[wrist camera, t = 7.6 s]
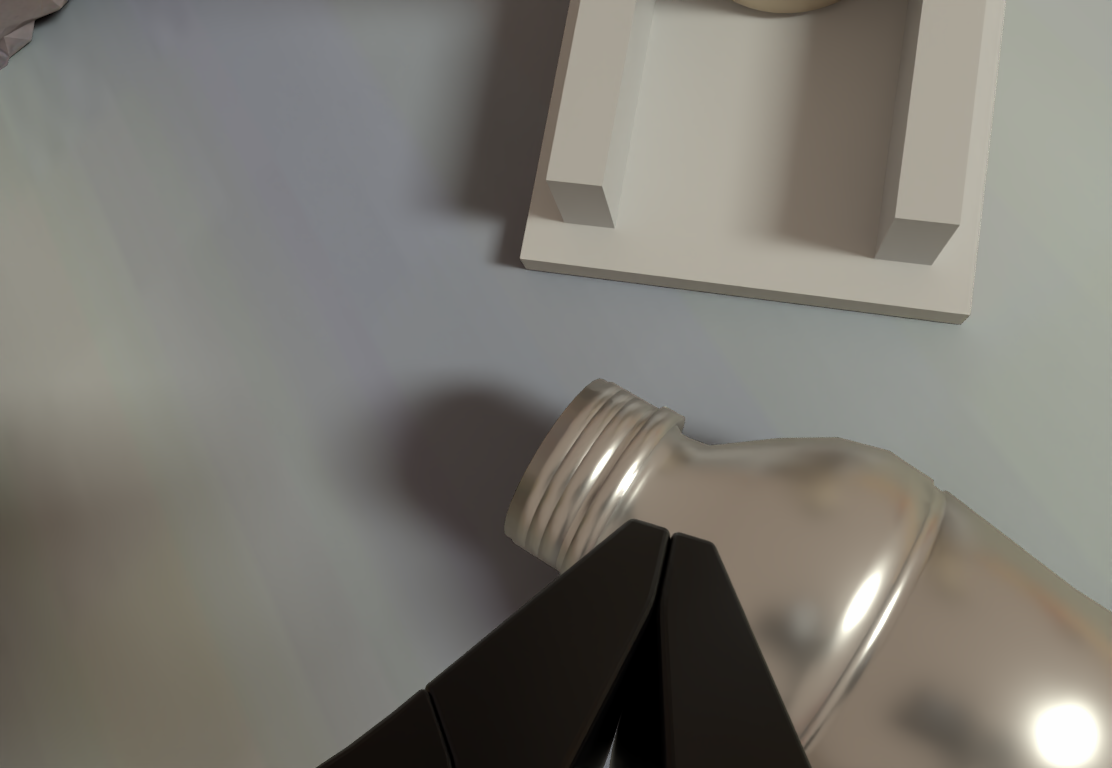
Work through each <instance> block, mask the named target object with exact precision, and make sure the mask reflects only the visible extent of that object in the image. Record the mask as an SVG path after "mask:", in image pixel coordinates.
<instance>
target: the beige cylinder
mask: <svg viewBox="0 0 1112 768" xmlns="http://www.w3.org/2000/svg"><path fill="white" fill-rule="evenodd" d="M732 1H734V2H736V3H738V4H741V5H743V6H746V7H748V8H752V9H756V10H760V11H764V12H772V13H798V12H807V11H811V10H816V9H820V8H823V7H826V6H829V5H832V4H834V3H836V2H839V1H841V0H732Z"/></svg>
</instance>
